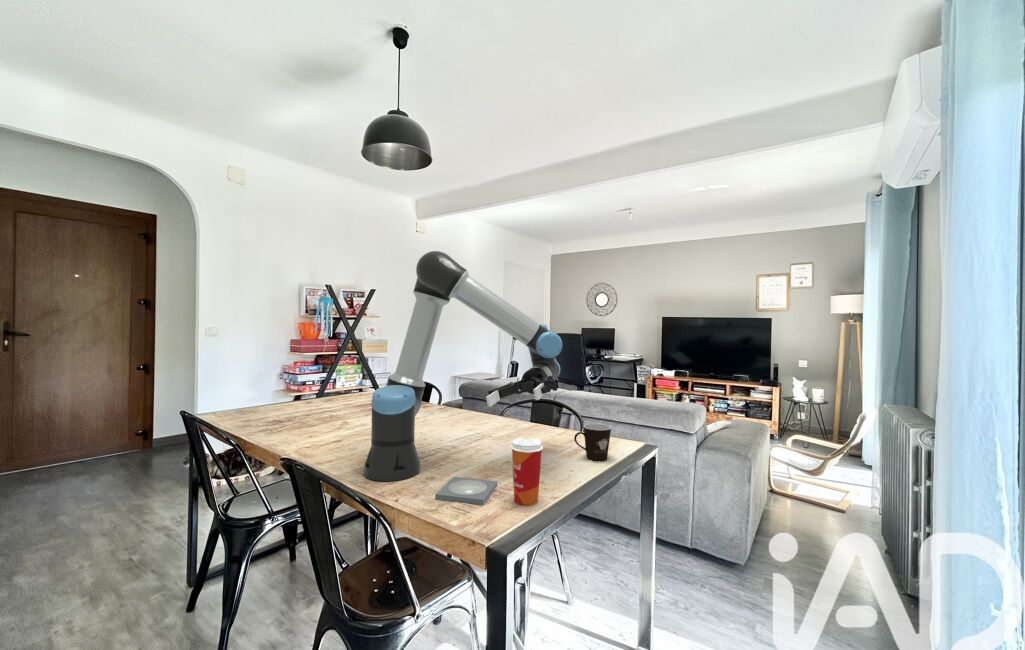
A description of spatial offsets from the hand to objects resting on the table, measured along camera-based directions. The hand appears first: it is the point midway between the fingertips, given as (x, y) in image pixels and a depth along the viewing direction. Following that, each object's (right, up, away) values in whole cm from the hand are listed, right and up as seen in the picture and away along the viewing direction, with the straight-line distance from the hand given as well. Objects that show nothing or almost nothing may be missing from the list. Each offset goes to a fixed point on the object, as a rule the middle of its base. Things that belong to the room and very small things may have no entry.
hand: (511, 398), depth 107 cm
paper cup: (+3, -23, -8) cm, 25 cm away
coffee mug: (+25, -24, +25) cm, 43 cm away
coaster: (-11, -23, -4) cm, 25 cm away
